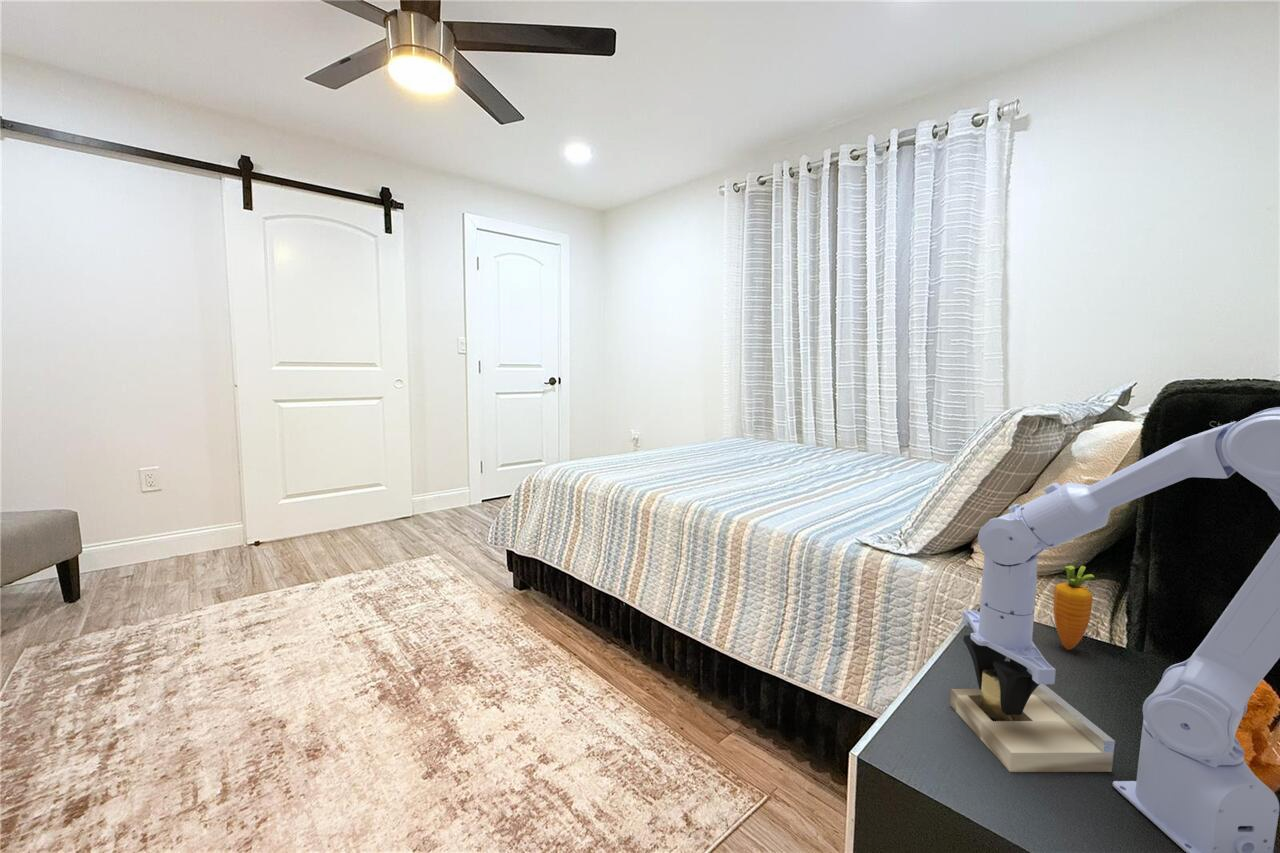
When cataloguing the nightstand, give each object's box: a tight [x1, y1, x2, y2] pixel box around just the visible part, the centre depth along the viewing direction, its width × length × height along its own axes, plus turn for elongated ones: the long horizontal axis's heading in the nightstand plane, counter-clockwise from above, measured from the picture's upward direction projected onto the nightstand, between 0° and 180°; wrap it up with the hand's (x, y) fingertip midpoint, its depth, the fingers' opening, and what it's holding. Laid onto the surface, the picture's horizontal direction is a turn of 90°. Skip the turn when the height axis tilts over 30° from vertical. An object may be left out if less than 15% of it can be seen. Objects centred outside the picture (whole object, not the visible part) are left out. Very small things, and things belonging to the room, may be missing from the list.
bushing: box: [980, 668, 1017, 721], centre depth 68 cm, size 4×4×5 cm
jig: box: [949, 684, 1116, 773], centre depth 66 cm, size 12×12×4 cm
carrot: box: [1053, 565, 1095, 651], centre depth 85 cm, size 5×5×15 cm
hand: (999, 701), depth 68 cm, fingers closed on bushing, 4 cm apart
